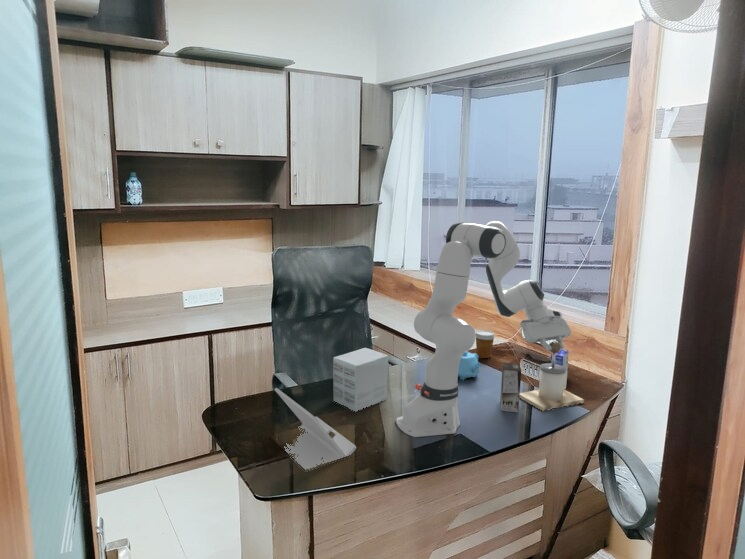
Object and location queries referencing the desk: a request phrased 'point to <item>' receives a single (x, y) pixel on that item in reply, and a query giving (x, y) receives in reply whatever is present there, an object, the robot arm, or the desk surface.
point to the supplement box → (360, 378)
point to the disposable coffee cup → (484, 343)
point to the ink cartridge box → (561, 358)
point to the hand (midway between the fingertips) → (555, 349)
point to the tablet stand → (315, 439)
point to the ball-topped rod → (554, 351)
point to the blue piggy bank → (468, 365)
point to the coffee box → (510, 387)
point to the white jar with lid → (552, 382)
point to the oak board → (544, 404)
